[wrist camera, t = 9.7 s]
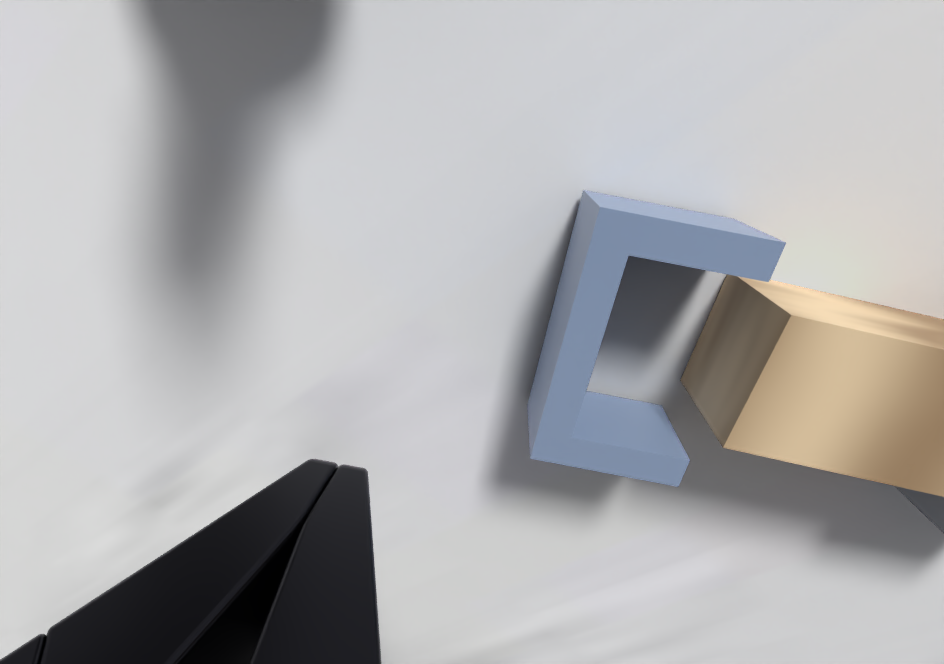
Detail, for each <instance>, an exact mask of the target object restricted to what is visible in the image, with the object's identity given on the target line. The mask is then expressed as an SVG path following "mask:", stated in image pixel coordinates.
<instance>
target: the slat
mask: <svg viewBox="0 0 944 664" xmlns="http://www.w3.org/2000/svg"><path fill="white" fill-rule="evenodd" d="M680 381H681V382H682V384H683V385H684V387H685V389H686V390H687V392H688V393H689V395H690V397H691V398H692V400H693V401H694V403H695V404H696V406H697V408H698V409H699V411H700V412H701V414H702V415H703V417H704V419H705V420H706V422H707V423H708V425H709V426H710V428H711V430H712V431H713V433H714V434H715V436H716V437H717V439H718V441H719V442H720V444H721V445H722V447H723V448H727V449H731V450H736V451H740V452H745V453H749V454H754V455H758V456H763V457H767V458H772V459H776V460H781V461H785V462H790V463H794V464H798V465H803V466H807V467H812V468H816V469H821V470H825V471H830V472H834V473H839V474H843V475H848V476H852V477H857V478H861V479H866V480H870V481H875V482H879V483H884V484H888V485H893V486H897V487H902V488H906V489H911V490H915V491H920V492H924V493H929V494H933V495H938V496H942V497H944V319H940V318H935V317H931V316H927V315H922V314H918V313H914V312H909V311H905V310H900V309H896V308H892V307H887V306H883V305H878V304H874V303H870V302H865V301H861V300H857V299H852V298H848V297H843V296H839V295H835V294H830V293H826V292H821V291H817V290H813V289H808V288H804V287H800V286H795V285H791V284H786V283H782V282H778V281H773V280H769V282H764V281H759V280H754V279H749V278H744V277H738V276H733V275H728V274H727V275H726V278H725V280H724V282H723V285H722V287H721V289H720V291H719V294H718V296H717V298H716V300H715V303H714V305H713V307H712V310H711V312H710V314H709V316H708V319H707V321H706V323H705V325H704V328H703V330H702V332H701V334H700V337H699V339H698V341H697V344H696V346H695V348H694V350H693V353H692V355H691V357H690V359H689V362H688V364H687V366H686V368H685V371H684V373H683V375H682V378H681V380H680Z"/></svg>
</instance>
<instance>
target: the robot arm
mask: <svg viewBox="0 0 944 664" xmlns="http://www.w3.org/2000/svg"><path fill="white" fill-rule="evenodd" d="M0 664H381V651H380V637H379V623H378V609H377V595H376V581H375V567H374V552H373V538H372V524H371V510H370V496H369V482H368V472H367V470H366V469H364V468H360V467H355V466H350V465H341V466H339V467H338V465H337V464H336V463H334V462H329V461H323V460H318V459H310V460H308V461H306V462H304V463H303V464H301V465H300V466H298V467H297V468H295V469H294V470H292V471H290V472H289V473H287V474H286V475H284V476H283V477H281V478H280V479H278V480H277V481H275V482H274V483H272V484H270V485H269V486H267V487H266V488H264V489H263V490H261V491H260V492H258V493H257V494H255V495H254V496H252V497H250V498H249V499H247V500H246V501H244V502H243V503H241V504H240V505H238V506H237V507H235V508H234V509H232V510H230V511H229V512H227V513H226V514H224V515H223V516H221V517H220V518H218V519H217V520H215V521H214V522H212V523H210V524H209V525H207V526H206V527H204V528H203V529H201V530H200V531H198V532H197V533H195V534H194V535H192V536H190V537H189V538H187V539H186V540H184V541H183V542H181V543H180V544H178V545H177V546H175V547H174V548H172V549H170V550H169V551H167V552H166V553H164V554H163V555H161V556H160V557H158V558H157V559H155V560H154V561H152V562H151V563H149V564H147V565H146V566H144V567H143V568H141V569H140V570H138V571H137V572H135V573H134V574H132V575H131V576H129V577H127V578H126V579H124V580H123V581H121V582H120V583H118V584H117V585H115V586H114V587H112V588H111V589H109V590H107V591H106V592H104V593H103V594H101V595H100V596H98V597H97V598H95V599H94V600H92V601H91V602H89V603H87V604H86V605H84V606H83V607H81V608H80V609H78V610H77V611H75V612H74V613H72V614H71V615H69V616H67V617H66V618H64V619H63V620H61V621H60V622H58V623H57V624H55V625H54V626H52V627H51V628H50V629H49V630H48V633H47V636H46V635H45V634H40V635H38V636H36V637H35V638H33V639H32V640H30V641H29V642H27V643H25V644H24V645H22V646H21V647H19V648H18V649H16V650H15V651H13V652H12V653H10V654H8V655H7V656H5V657H4V658H2V659H1V660H0Z"/></svg>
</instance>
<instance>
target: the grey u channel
mask: <svg viewBox="0 0 944 664" xmlns="http://www.w3.org/2000/svg"><path fill="white" fill-rule="evenodd" d="M895 487H896V488H897V489H898V490H899V491H900V492H901V493H902V494H903V495H904V496H906V497H907V498H908V499H909V500H910V501H911V502H912V503H913V504H914V505H915V506H916V507H917V508H918V509H919V510H920V511H921V512H922V513H923V514H924V515H925V516H926V517H927V518H928V519H929V520H930V521H931V522H932V523H934V524H935V525H936V526H937V527H938V528H939V529H940V530H941V531H942V532H943V533H944V497H942V496H938V495H933V494H929V493H924V492H920V491H915V490H911V489H906V488H902V487H897V486H895Z"/></svg>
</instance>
